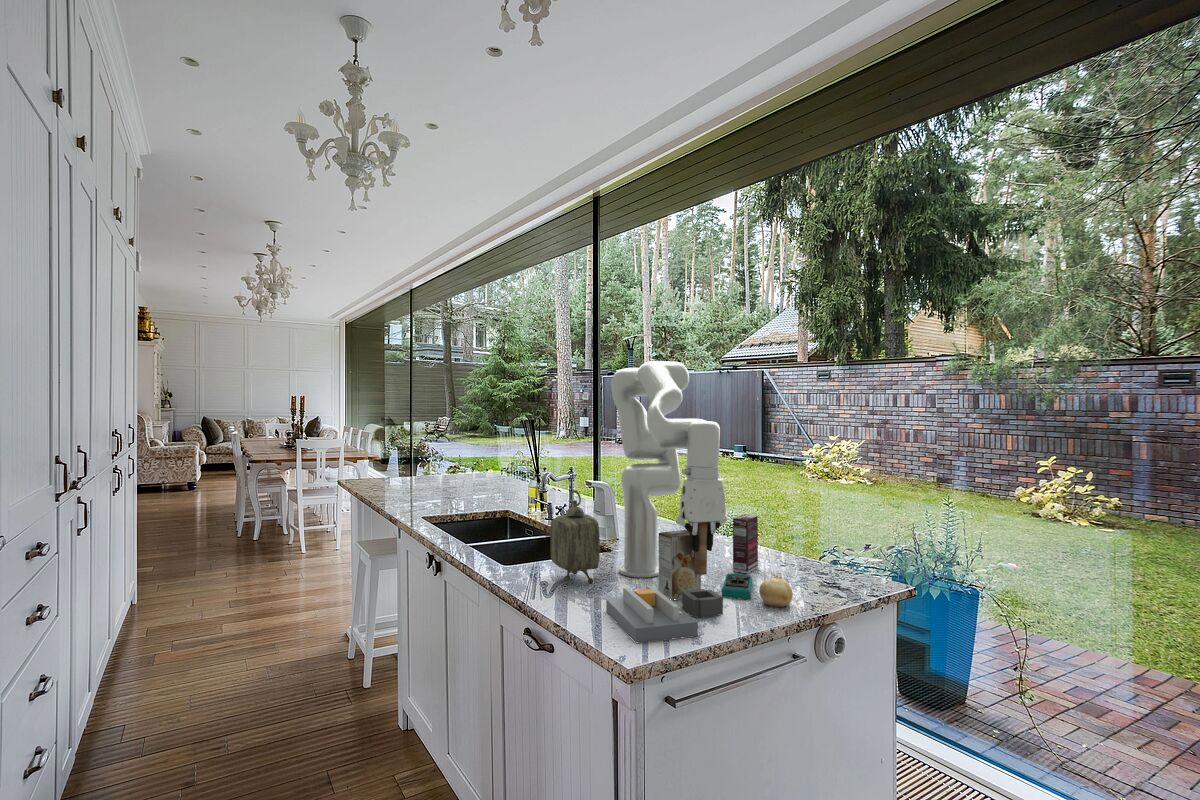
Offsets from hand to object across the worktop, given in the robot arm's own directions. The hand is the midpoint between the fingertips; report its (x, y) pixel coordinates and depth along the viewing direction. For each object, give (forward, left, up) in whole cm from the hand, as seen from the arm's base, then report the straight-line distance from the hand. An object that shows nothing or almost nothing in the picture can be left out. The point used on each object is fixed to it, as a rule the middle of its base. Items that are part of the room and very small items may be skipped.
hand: (701, 549), depth 147 cm
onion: (+1, +20, -15) cm, 25 cm away
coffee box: (-12, 0, -15) cm, 19 cm away
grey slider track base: (+5, -15, -15) cm, 21 cm away
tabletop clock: (-32, -23, -15) cm, 42 cm away
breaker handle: (+2, -15, -11) cm, 19 cm away
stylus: (0, 0, -6) cm, 6 cm away
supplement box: (-29, +29, -15) cm, 44 cm away
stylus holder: (+1, 0, -15) cm, 15 cm away
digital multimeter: (-12, +17, -15) cm, 26 cm away
